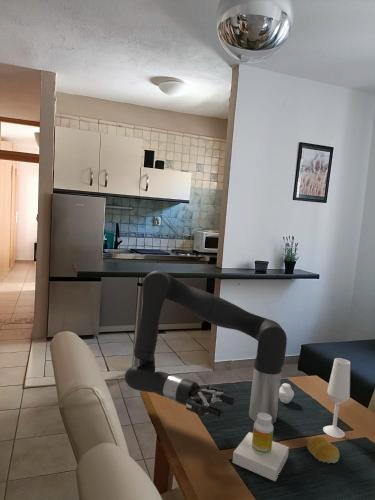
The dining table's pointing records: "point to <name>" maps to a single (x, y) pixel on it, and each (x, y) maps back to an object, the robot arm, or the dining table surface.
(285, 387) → the white lumpy ovoid
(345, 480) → the dining table surface
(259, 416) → the supplement bottle
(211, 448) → the dining table surface
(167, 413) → the dining table surface
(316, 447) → the bread roll
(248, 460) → the stack of napkins
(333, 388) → the champagne flute
